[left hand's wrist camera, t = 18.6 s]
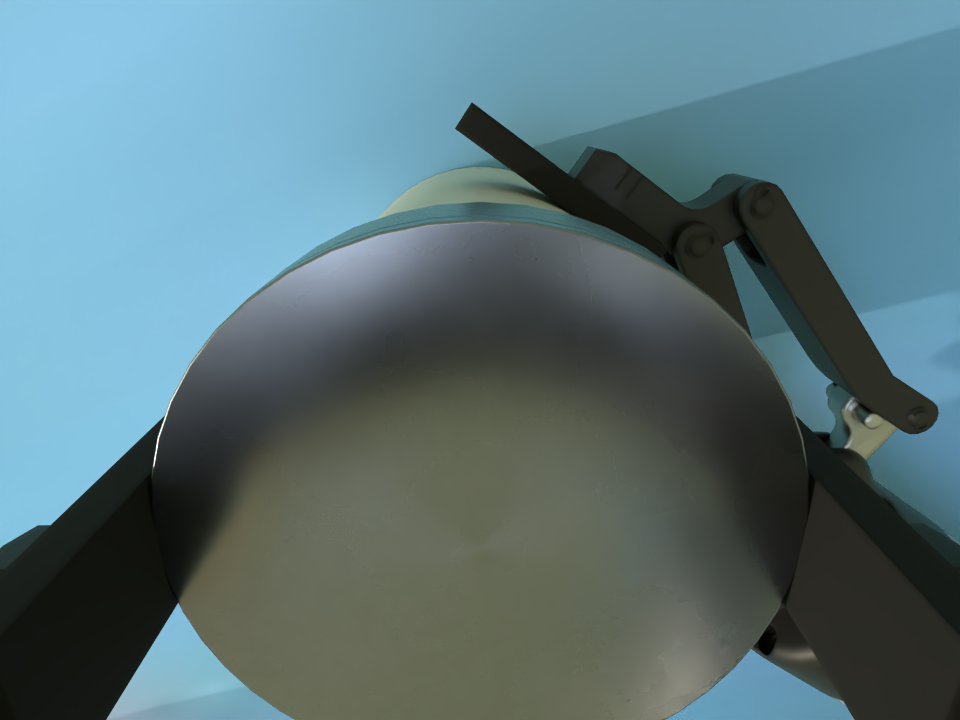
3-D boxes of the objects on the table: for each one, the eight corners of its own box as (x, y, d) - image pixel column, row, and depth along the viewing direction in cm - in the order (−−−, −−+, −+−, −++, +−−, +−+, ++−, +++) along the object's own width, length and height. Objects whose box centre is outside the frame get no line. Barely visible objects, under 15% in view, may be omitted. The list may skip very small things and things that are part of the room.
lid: (356, 739, 15) (339, 822, 13) (81, 344, 11) (6, 386, 9) (812, 603, 13) (862, 677, 12) (673, 90, 10) (717, 84, 8)
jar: (650, 304, 26) (861, 540, 11) (470, 443, 28) (460, 781, 14) (492, 108, 23) (512, 100, 9) (307, 282, 25) (86, 499, 11)
